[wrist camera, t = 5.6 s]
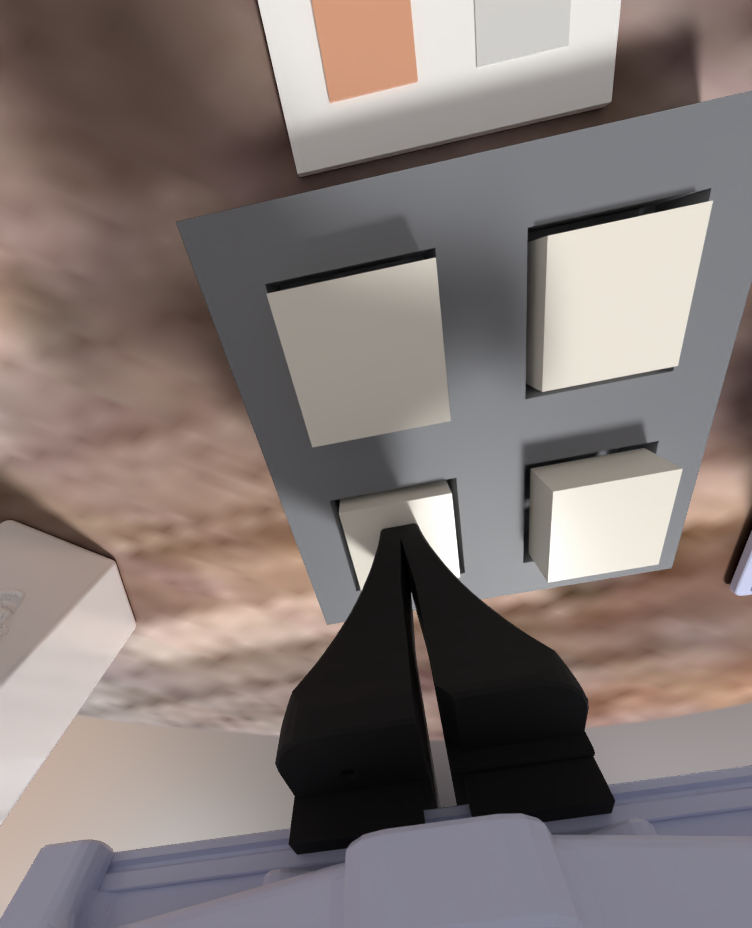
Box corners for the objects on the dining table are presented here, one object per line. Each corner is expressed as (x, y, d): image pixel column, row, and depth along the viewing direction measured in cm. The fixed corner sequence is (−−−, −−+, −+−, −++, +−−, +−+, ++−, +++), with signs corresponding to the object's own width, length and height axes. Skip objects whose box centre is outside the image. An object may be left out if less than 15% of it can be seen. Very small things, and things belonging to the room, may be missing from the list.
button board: (703, 129, 10) (807, 77, 8) (628, 530, 17) (671, 567, 14) (216, 238, 11) (175, 221, 8) (331, 580, 17) (327, 624, 15)
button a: (660, 214, 10) (713, 200, 8) (638, 357, 11) (677, 365, 10) (520, 244, 10) (547, 235, 8) (519, 380, 12) (542, 392, 10)
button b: (644, 448, 12) (682, 468, 10) (627, 536, 14) (658, 564, 12) (530, 468, 12) (553, 491, 11) (528, 553, 14) (547, 582, 12)
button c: (424, 263, 9) (436, 257, 8) (439, 404, 11) (450, 421, 9) (280, 294, 9) (266, 293, 8) (318, 428, 11) (312, 447, 10)
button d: (441, 471, 13) (451, 493, 12) (450, 550, 15) (460, 577, 13) (341, 489, 13) (338, 513, 12) (361, 565, 15) (361, 593, 14)
